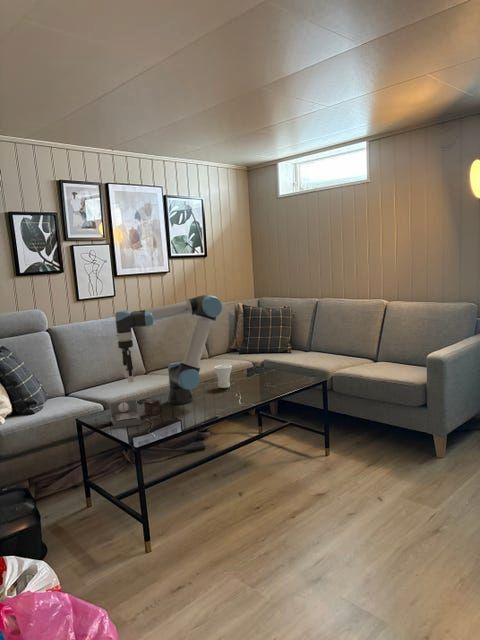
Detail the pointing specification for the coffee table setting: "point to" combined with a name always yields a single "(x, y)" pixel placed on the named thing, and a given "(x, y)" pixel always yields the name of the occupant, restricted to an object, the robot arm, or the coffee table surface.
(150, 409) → the box
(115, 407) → the scale
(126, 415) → the pan
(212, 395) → the coffee table surface
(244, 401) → the coffee table surface
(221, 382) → the cup
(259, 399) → the coffee table surface
